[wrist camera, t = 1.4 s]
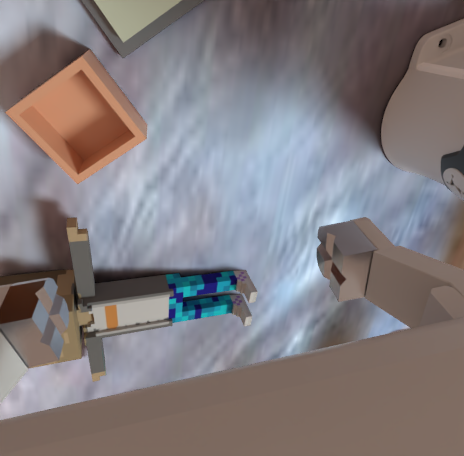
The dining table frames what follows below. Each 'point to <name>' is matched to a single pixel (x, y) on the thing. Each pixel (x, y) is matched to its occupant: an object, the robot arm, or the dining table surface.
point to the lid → (133, 14)
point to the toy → (132, 301)
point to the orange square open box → (80, 118)
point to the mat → (147, 32)
